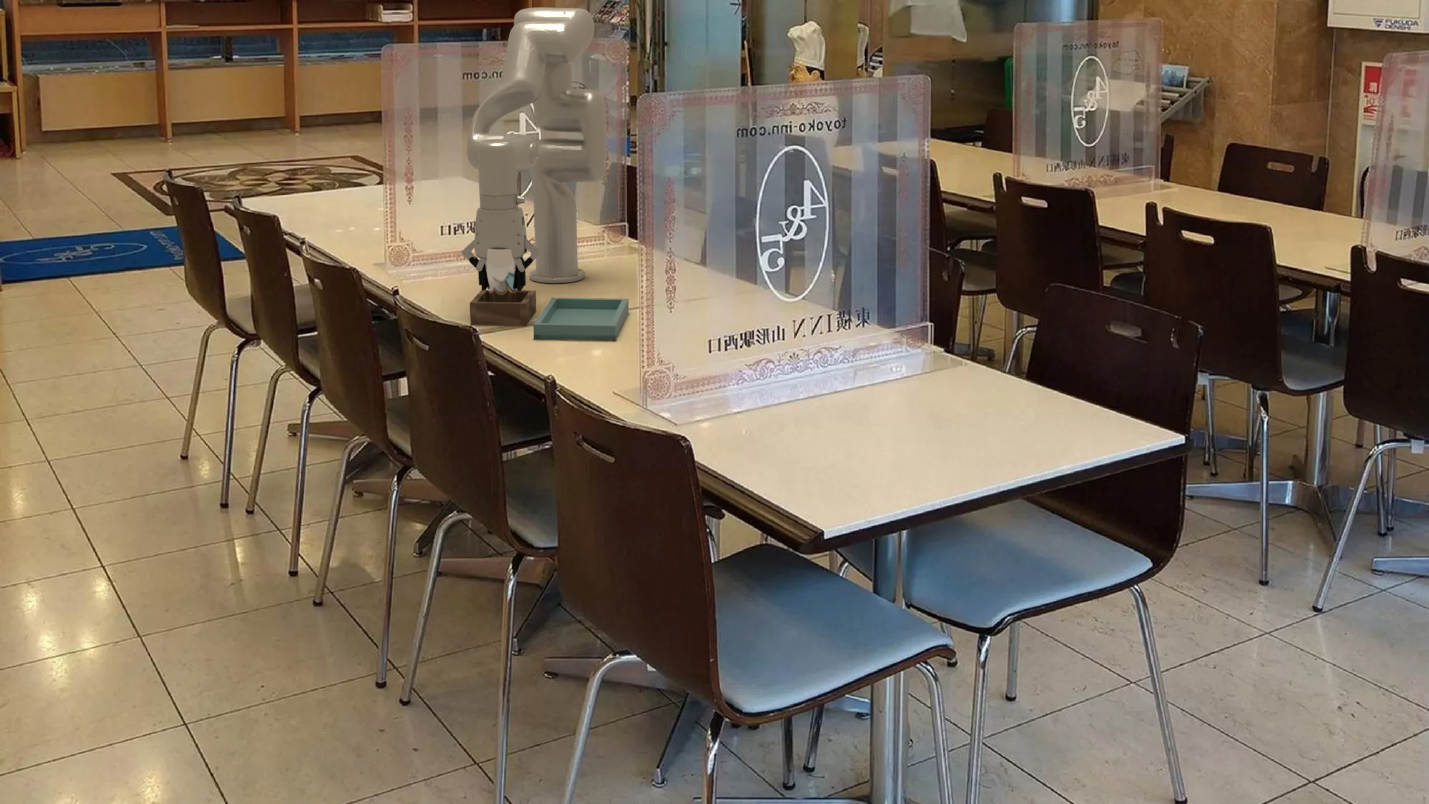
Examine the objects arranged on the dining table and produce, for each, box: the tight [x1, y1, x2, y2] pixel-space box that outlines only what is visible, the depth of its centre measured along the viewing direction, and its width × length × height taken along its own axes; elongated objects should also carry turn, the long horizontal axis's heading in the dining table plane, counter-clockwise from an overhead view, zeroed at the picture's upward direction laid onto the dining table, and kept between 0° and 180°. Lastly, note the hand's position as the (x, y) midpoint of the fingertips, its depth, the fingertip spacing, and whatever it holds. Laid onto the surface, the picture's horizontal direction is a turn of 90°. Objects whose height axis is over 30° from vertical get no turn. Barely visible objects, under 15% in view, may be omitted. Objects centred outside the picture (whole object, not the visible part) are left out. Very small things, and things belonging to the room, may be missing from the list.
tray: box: [532, 297, 630, 342], centre depth 300 cm, size 22×16×3 cm
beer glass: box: [485, 248, 518, 302], centre depth 304 cm, size 7×7×15 cm
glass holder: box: [469, 289, 537, 327], centre depth 306 cm, size 11×11×4 cm
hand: (502, 288), depth 304 cm, fingers closed on beer glass, 6 cm apart
